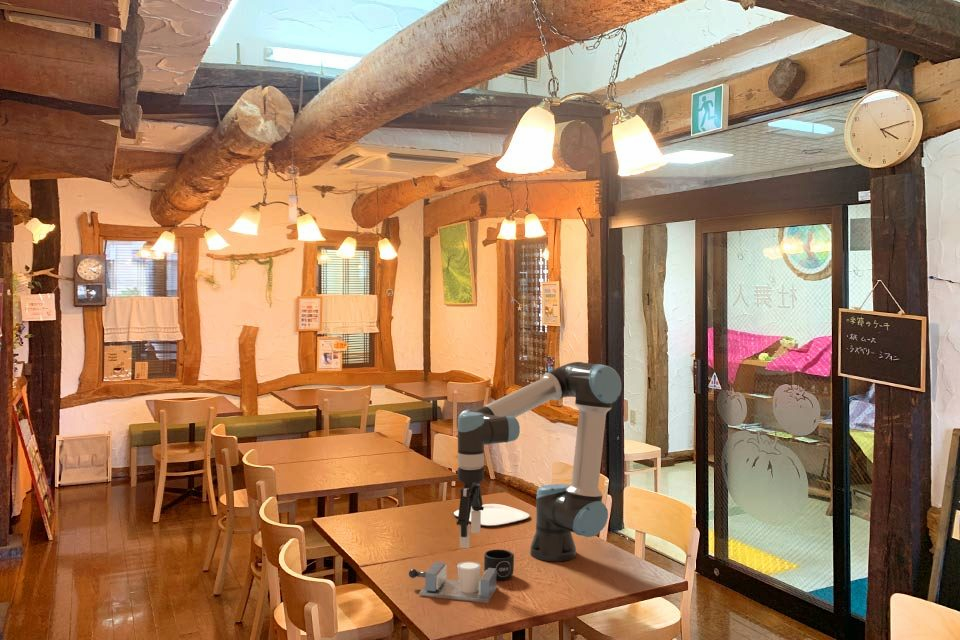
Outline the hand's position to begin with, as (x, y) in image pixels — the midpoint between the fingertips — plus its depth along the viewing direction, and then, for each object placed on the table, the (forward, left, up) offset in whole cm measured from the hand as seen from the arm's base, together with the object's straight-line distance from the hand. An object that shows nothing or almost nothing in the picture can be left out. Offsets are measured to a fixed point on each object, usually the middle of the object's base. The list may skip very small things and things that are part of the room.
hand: (470, 540), depth 225 cm
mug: (-5, -16, -16) cm, 23 cm away
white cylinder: (0, 0, -15) cm, 15 cm away
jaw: (+13, 0, -14) cm, 19 cm away
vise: (+3, 0, -15) cm, 16 cm away
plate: (+10, -77, -16) cm, 79 cm away
